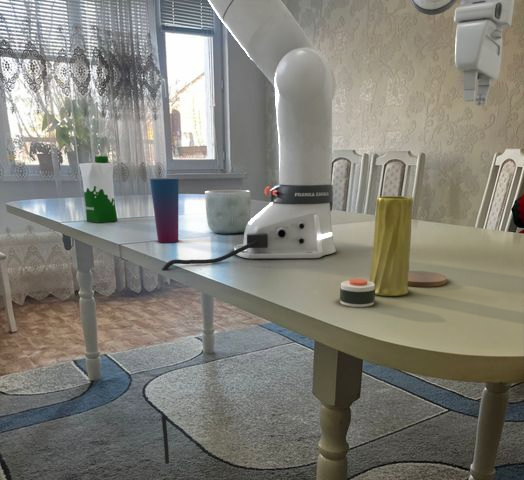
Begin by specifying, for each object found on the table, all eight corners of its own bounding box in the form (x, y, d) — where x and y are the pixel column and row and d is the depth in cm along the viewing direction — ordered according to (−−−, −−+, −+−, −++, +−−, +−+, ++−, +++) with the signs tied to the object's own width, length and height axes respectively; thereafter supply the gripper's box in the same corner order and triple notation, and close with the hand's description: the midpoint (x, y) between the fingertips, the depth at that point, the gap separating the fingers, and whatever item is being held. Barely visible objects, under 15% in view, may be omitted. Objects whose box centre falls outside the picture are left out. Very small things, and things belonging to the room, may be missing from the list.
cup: (187, 240, 136) (184, 178, 131) (169, 244, 131) (165, 179, 126) (167, 238, 140) (163, 177, 135) (148, 242, 134) (143, 178, 129)
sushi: (346, 308, 76) (347, 285, 75) (335, 299, 80) (335, 277, 79) (379, 306, 77) (381, 283, 76) (366, 297, 81) (368, 276, 80)
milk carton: (121, 220, 178) (115, 156, 171) (97, 223, 171) (90, 156, 164) (105, 219, 183) (99, 156, 176) (82, 221, 176) (74, 156, 170)
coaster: (405, 288, 87) (405, 283, 87) (383, 276, 95) (383, 272, 95) (456, 285, 88) (457, 280, 88) (430, 274, 97) (431, 269, 96)
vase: (363, 288, 87) (368, 196, 82) (400, 286, 88) (407, 195, 83) (374, 297, 81) (381, 199, 76) (414, 296, 82) (423, 198, 77)
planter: (219, 228, 158) (217, 189, 154) (258, 230, 153) (257, 190, 150) (198, 234, 147) (196, 192, 143) (239, 236, 143) (238, 193, 139)
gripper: (479, 30, 105) (470, 107, 110) (452, 7, 89) (442, 99, 94) (514, 26, 102) (503, 106, 107) (492, 2, 86) (481, 97, 91)
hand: (474, 103), depth 100 cm, fingers open, 8 cm apart
